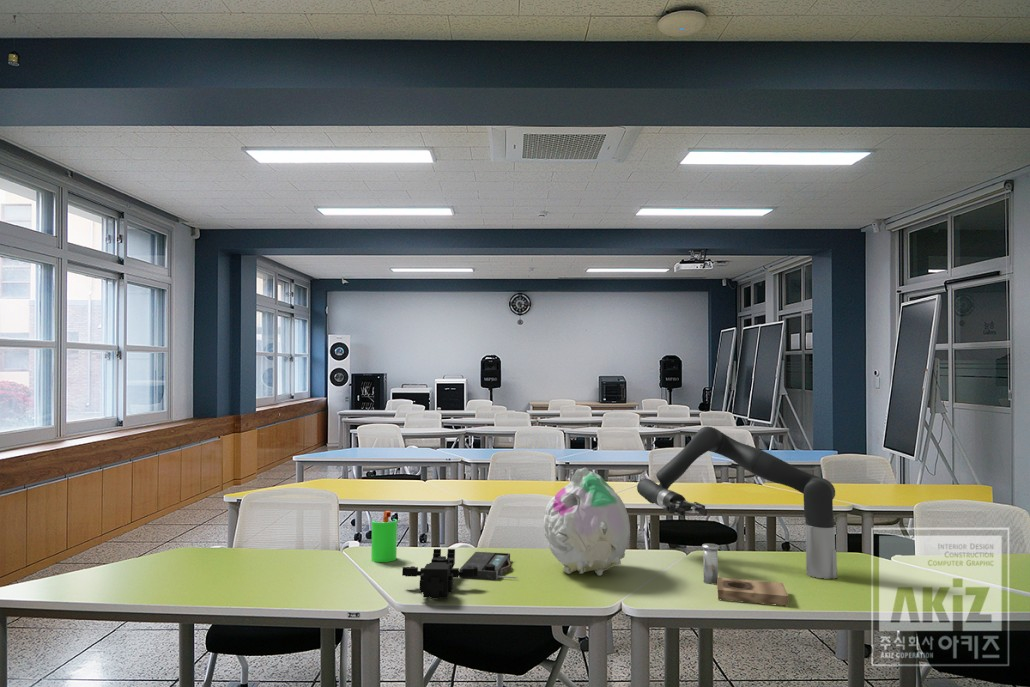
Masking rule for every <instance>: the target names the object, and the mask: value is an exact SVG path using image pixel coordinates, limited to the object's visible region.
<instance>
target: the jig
mask: <svg viewBox="0 0 1030 687" xmlns="http://www.w3.org/2000/svg"><path fill="white" fill-rule="evenodd" d="M716 589H718V590H717V600H718V599H721V600H720V601H725V600H733V601H732V602H736V601H743V602H742V603H746V602H754V603H753V604H757V603H764V604H763V605H768V604H776V605H775V606H778V605H785V606H784V607H789V595H788V592H787V590H786V588H785V585H784V583H783V582H775V581H764V580H750V579H742V578H729V577H727V578H726V577H719V576H718V577H717V586H716Z"/></svg>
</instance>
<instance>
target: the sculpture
mask: <svg viewBox="0 0 1030 687" xmlns="http://www.w3.org/2000/svg"><path fill="white" fill-rule="evenodd" d="M543 529H544V530H543V532H544V536H545V538H546V539H547V545H548V547H549V549H550V551H551V553H552V555H553V556H554V558H556V560H557V561H558V562H559V563H560V564H561V565H563V566H564V568H563V571H564V573H566V574H568V575H571V574H573V572H575V571H578V575H581V574H584V573H587V572H591V571H594V572H595V574H596V575H597V576H599V577H601V576H602V575H603V572H605V571H608V569H611V568H612V567H616V566H619V565H621V563H622V561H621V559H624V558H625V557H626V556H625V554H626V553H625V552H626V550H627V547H628V546H629V541H630V537H631V536H630V535H631V524H630V519H629V514H628V512H627V508H626V504H625V503H624V502H623V500H622V499H621V497H620V496H619V495H618V493H617V492H616V491H615V490H614V488H613V487H611V486H610V485H609V483H608V482H607V481H606V480H605V479H604V478H603V477H602V476H601V475H600V474H598V473H595V472H593V471H590V470H589V469H588V468H587V467H583V468H578V469H576V471H575V472H574V474H573V476H572V477H571V479H570V482H569V483H568V484H567V485H565V486H563V487H562V488H561V489H559V491H558V492H556V494H555V495H554V496H553V497H552V498H551V499H550V500H549V501H548V503H547V505H546V507H545V512H544V517H543Z"/></svg>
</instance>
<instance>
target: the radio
mask: <svg viewBox="0 0 1030 687" xmlns="http://www.w3.org/2000/svg"><path fill="white" fill-rule="evenodd" d="M467 567H471V568H478V576H474V577H462V576H459V577H458V578H459V579H473V580H474V579H477V580H492V581H498V579H502V578H503V579H519V577H516V576H507V575H505V576H504V574H507V573H509V572H510V571H511V568H512V567H511V553H508V552H507V553H505V552H487V551H475V552H474V553H473V554H472V555H471V556H470V557H469V558H468V559H467V561H466V562H465V563H463V565H462V566H461V567H460V568H459V571H462V569H463V568H467Z"/></svg>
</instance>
